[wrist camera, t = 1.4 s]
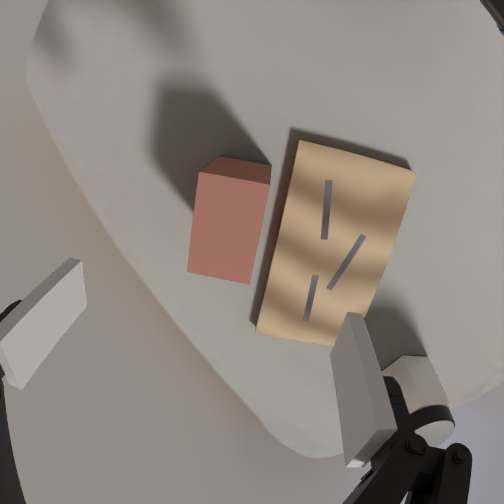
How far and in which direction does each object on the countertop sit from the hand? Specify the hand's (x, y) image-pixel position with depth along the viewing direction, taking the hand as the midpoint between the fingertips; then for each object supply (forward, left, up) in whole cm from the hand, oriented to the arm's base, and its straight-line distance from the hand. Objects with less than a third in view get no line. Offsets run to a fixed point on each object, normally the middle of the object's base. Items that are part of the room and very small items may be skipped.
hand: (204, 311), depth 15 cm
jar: (+20, +27, -19) cm, 38 cm away
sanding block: (0, -1, -19) cm, 19 cm away
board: (+4, +10, -19) cm, 21 cm away
